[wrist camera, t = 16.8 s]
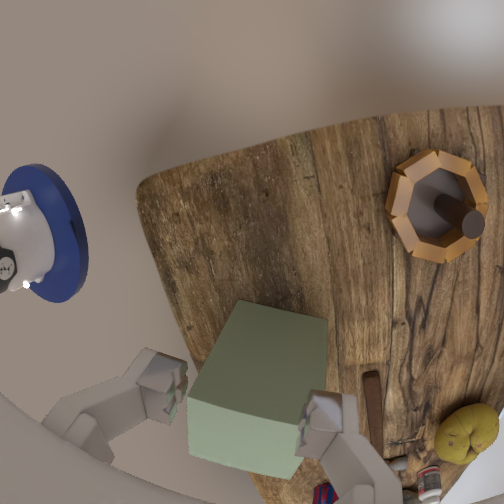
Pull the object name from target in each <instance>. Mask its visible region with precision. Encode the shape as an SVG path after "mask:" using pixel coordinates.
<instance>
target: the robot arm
mask: <svg viewBox="0 0 504 504" xmlns="http://www.w3.org/2000/svg"><path fill="white" fill-rule="evenodd" d="M54 259H55V248H54V241H53V236H52V233H51V230H50V227H49V224H48V222H47V220H46V218H45V216H44V214H43V213H42V211H41V210H40V209H39V207H38V206H37V205H36V203H35V200H34V198H33V195H32V193H31V191H30V190H29V189H26V190H22V191H18V192H14V193H9V194H5V195H1V196H0V295H1V294H2V293H3V292H5V291H6V290H7V289H8V290H11V291H15V290H17V289H18V288H21V287H23V286H24V287H26V288H27V287H29V283H31V282H33V281H35V282H37V283H40V282H42V281H43V279H44V276H45V274H46V273H47V272H48V271H50V270H51V268H52V266H53V264H54ZM187 369H188V366H187V362H186V361H184V360H181V359H178V358H175V357H172V356H169V355H166V354H163V353H160V352H157V351H154V350H152V349H149V348H144V349H143V350H141V352H140V353H139V354H138V356H137V357H136V358H135V360H134V361H133V363H132V364H131V365H130V367H129V368H128V369H127V371H126V372H125V373H124V375H123V376H122V378H120V377H115V378H113V379H110V380H108V381H105V382H103V383H100V384H97V385H95V386H92V387H90V388H87V389H84V390H82V391H79V392H76V393H73V394H71V395H68V396H65V397H62V398H60V400H59V401H58V402H57V403H56V404H55V406H54V407H53V408H52V409H51V411H50V412H49V413H48V414H47V416H46V417H45V418H44V419H43V421H42V422H41V423H39V422H37V421H36V420H35V419H33V418H32V417H30V416H29V415H28V414H26V413H25V412H24V411H22V410H21V409H20V408H18V407H17V406H16V405H15V404H13V403H12V402H11V401H10V400H8V399H7V398H6V397H5V396H4V395H3V394H1V393H0V504H214V503H211V502H207V501H203V500H200V499H196V498H193V497H190V496H186V495H183V494H180V493H177V492H174V491H171V490H168V489H166V488H163V487H160V486H158V485H155V484H152V483H150V482H147V481H145V480H142V479H140V478H138V477H135V476H133V475H131V474H129V473H126V472H124V471H122V470H119V469H118V468H116V467H113V466H111V463H112V461H113V459H114V454H113V452H112V450H111V448H110V446H109V445H108V443H107V442H108V441H110V440H112V439H114V438H115V437H117V436H119V435H121V434H122V433H124V432H126V431H128V430H129V429H131V428H133V427H134V426H136V425H138V424H140V423H141V422H143V421H144V420H146V419H147V418H149V419H152V420H155V421H158V422H161V423H164V424H167V425H171V423H172V421H173V418H174V417H175V415H176V413H177V404H178V403H181V402H182V400H183V398H184V395H185V393H186V389H187V385H188V377H187V376H186V374H185V373H186V371H187ZM298 430H299V432H300V434H299V436H298V438H297V440H296V448H295V456H299V457H305V458H312V459H320V460H319V462H320V464H321V465H322V467H323V469H324V471H325V473H326V475H327V477H328V479H329V481H330V482H331V484H332V486H333V488H334V490H335V492H336V494H337V495H338V497H339V499H338V500H337V501H336V502H335V503H333V504H403V495H402V482H401V481H400V480H399V479H398V477H397V476H396V475H395V474H394V473H393V471H392V470H391V469H390V468H389V466H388V465H387V464H386V463H385V461H384V460H383V459H382V457H381V456H380V455H379V454H378V452H377V451H376V450H375V449H374V447H373V446H372V445H371V444H370V442H369V441H368V440H367V438H366V437H365V436H364V435H361V434H359V419H358V405H357V397H356V395H352V394H344V393H337V392H329V391H321V390H314V389H311V390H310V392H309V394H308V397H307V403H305V404H304V406H303V408H302V411H301V414H300V418H299V424H298ZM472 504H504V493H503V494H500V495H497V496H494V497H491V498H489V499H485V500H482V501H479V502H475V503H472Z"/></svg>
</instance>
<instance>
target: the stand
mask: <svg viewBox="0 0 504 504" xmlns="http://www.w3.org/2000/svg"><path fill="white" fill-rule="evenodd" d="M419 152H421V151H419V150H416V149H411V152H410V157H409V159H410V158H411V157H413V156H414V155H416V154H417V153H419ZM478 174H479V176H480V179H481V181H482V184H483V186H485V182H486V177H487V176H486V175H483V174H481V173H479V172H478ZM464 200H465V197H464V195H463V193H462V190H461V188H460V186H459V184H458V181H457V179H456V177H455V175H454V173H451V172H448V171H446V170H443V169H440V168H439V169H437V170H435V171H434V172H432V173H431V174H429V175H428V176H426V177H425V178H423V179H421V180H420V181H418V182H417V183H415V185H414V189H413V194H412V198H411V202H410V206H409V209H408V213H407V216H408V217H409V219H410V221H411V223H412V225H413V227H414V229H415V231H416V233H417V234H421V235H424V236H428V237H432V238H435V239H437V238H438V237H440V236H441V235H443V234H445V233H446V232H448V231H449V230H451V229H452V228H456V229H457V230H458V231H459V232H461V233H462V234H463V235H464V236H465V237H467V238H468V239H476V238H478V237H479V236H480V235H481V234H482V232H483V230H484V227H485V219H484V217H483V215H482V213H480V212H479V211H477V210H476V209H474V208H472V207H470V206H469V205H467V204H465V203H464ZM392 234H393V235H394V236H395V237H398V236H397V234H396V232H395V230H394V228H392ZM465 252H466V251H465ZM465 252H464V253H462V254H461V255H464V254H465Z"/></svg>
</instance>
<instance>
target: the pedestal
mask: <svg viewBox="0 0 504 504" xmlns="http://www.w3.org/2000/svg"><path fill="white" fill-rule="evenodd" d="M327 334H328V320H327V319H322V318H318V317H313V316H308V315H304V314H299V313H295V312H290V311H286V310H281V309H277V308H273V307H268V306H264V305H260V304H256V303H252V302H247V301H243V300H238V301H237V303H236V305H235V307H234V309H233V311H232V313H231V315H230V316H229V318H228V320H227V322H226V324H225V326H224V328H223V330H222V332H221V333H220V335H219V337H218V339H217V341H216V343H215V345H214V347H213V348H212V350H211V352H210V354H209V356H208V358H207V360H206V362H205V363H204V365H203V367H202V369H201V371H200V373H199V375H198V377H197V378H196V380H195V382H194V384H193V386H192V388H191V390H190V391H189V393H188V395H187V417H188V442H189V454H191V455H194V456H197V457H200V458H203V459H206V460H209V461H212V462H216V463H219V464H222V465H226V466H230V467H233V468H237V469H241V470H245V471H249V472H253V473H258V474H262V475H267V476H272V477H277V478H283V479H289V480H290V478H291V477H292V475H293V474H294V473H295V471H296V470H297V468H298V467H299V465H300V464H301V462H302V461H303V459H304V458H305V457H299V456H295V448H296V440H297V438H298V436H299V434H300V432H299V430H298V424H299V418H300V414H301V411H302V408H303V406H304V404H305V403H307V397H308V394H309V392H310V390H311V389H314V390H321V391H325V382H326V362H327Z"/></svg>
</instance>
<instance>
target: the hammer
mask: <svg viewBox="0 0 504 504" xmlns="http://www.w3.org/2000/svg"><path fill="white" fill-rule="evenodd" d="M363 385H364V392H365V399H366V406H367V413H368V421H369V429H370V437H371V445H372V446H373V447H374V449H375V450H376V451H377V452H378V454H379V455H380V456H381V457H382V459H383V423H382V402H381V387H380V376H379V373H378V372H370V373H366V374H364V375H363ZM385 463H386V464H387V465H388V466H389V468H390V469H392V470H395V471H398V470H403V469H406V468H407V460H406V456H405V457H400V458H396V459H394V460H393V461H392V462H389V460H385Z"/></svg>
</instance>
